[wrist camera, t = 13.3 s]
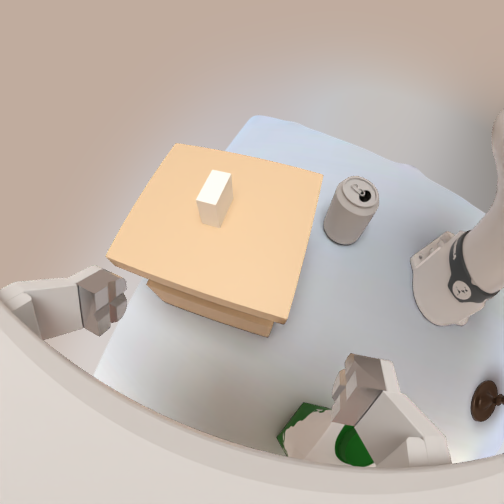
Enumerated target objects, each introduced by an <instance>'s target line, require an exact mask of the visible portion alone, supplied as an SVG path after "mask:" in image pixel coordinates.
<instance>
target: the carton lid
mask: <svg viewBox="0 0 504 504" xmlns="http://www.w3.org/2000/svg"><path fill="white" fill-rule="evenodd" d="M322 179H323V175H322V174H319V173H315V172H312V171H308V170H304V169H300V168H297V167H293V166H289V165H285V164H281V163H277V162H273V161H268V160H264V159H260V158H255V157H250V156H246V155H241V154H236V153H231V152H226V151H220V150H215V149H209V148H203V147H197V146H191V145H185V144H177V143H176V144H175V145H174V146H173V148H172V149H171V151H170V152H169V153H168V155H167V156H166V158H165V159H164V160H163V162H162V163H161V165H160V166H159V168H158V169H157V171H156V172H155V173H154V175H153V176H152V178H151V180H150V181H149V182H148V184H147V186H146V187H145V189H144V190H143V192H142V193H141V195H140V197H139V198H138V200H137V201H136V203H135V205H134V206H133V208H132V210H131V211H130V213H129V215H128V216H127V218H126V220H125V221H124V223H123V225H122V227H121V228H120V230H119V232H118V234H117V236H116V237H115V239H114V241H113V243H112V245H111V247H110V249H109V250H108V252H107V254H106V257H107V258H108V259H109V260H110V261H111V262H112V263H113V264H114V265H115V266H117V267H119V268H122V269H124V270H127V271H129V272H132V273H134V274H137V275H139V276H142V277H144V278H147V279H150V280H152V281H155V282H157V283H160V284H163V285H165V286H168V287H171V288H174V289H176V290H179V291H182V292H185V293H187V294H190V295H193V296H196V297H199V298H202V299H205V300H208V301H211V302H214V303H216V304H219V305H222V306H226V307H229V308H232V309H235V310H238V311H241V312H244V313H247V314H251V315H254V316H257V317H260V318H264V319H267V320H270V321H274V322H277V323H281V324H285V322H286V320H287V318H288V315H289V311H290V308H291V304H292V301H293V297H294V294H295V290H296V286H297V283H298V279H299V275H300V271H301V268H302V264H303V260H304V256H305V252H306V248H307V244H308V240H309V236H310V232H311V228H312V224H313V219H314V215H315V211H316V206H317V202H318V197H319V193H320V188H321V184H322Z"/></svg>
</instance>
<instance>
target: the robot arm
mask: <svg viewBox="0 0 504 504" xmlns="http://www.w3.org/2000/svg"><path fill="white" fill-rule="evenodd" d="M492 150H493V154H494V158H495V161H496V167H497V180H498V181H497V191H496V196H495V199H494V201H493V204H492V206H491V208H490V209H489V211H488V212H487V213H486V215H485V216H484V217H483V218H482V219H481V221H480V222H479V223H478V224H477V225H476V226H475V227H474V228H473V229H472V230H469V231H467V232H464V231H459V232H458V233H457V234H456V235H454V234H453V233H451V232H448V231H447V232H445V233H444V234H442V235H441V236H440V237H438V238H437V239H436V240H434V241H433V242H431V243H430V244H429V245H427V246H426V247H425V248H423V249H422V250H420V251H419V252H417V253H416V254H415V255H413V256H412V257H411V259H410V261H411V266H412V269H413V292H414V297H415V300H416V303H417V305H418V307H419V309H420V311H421V312H422V314H423V315H424V316H425V317H426V318H427V319H428V320H429V321H430V322H432V323H434V324H436V325H439V326H447V325H451V324H456V325H460V326H462V325H464V324H466V323H467V321H468V318H469V316H471V315H473V314H474V313H476V312H477V311H479V310H481V309H482V308H483V307H484V304H485V302H486V301H487V300H489V299H491V298H492V297H494V296H495V295H496V294H497V293H498V292H499V291H500V289H502V288H504V108H503V109H502V110H501V112H500V113H499V114H498V116H497V118H496V119H495V122H494V125H493V129H492ZM419 258H420V259H419ZM126 287H127V286H126V281H125V279H124V278H122V277H120V276H118V275H116V274H114V273H112V272H109V271H107V270H105V269H103V268H101V267H98V266H95V265H92V266H90V267H88V268H86V269H84V270H82V271H80V272H78V273H76V274H75V275H73V276H71V277H69V278H67V279H65V278H55V279H43V280H34V281H33V280H32V281H21V282H14V283H12V284H10V285H8V286H6V287H4V288H2V289H0V504H504V453H503V454H499V455H495V456H491V457H487V458H482V459H478V460H473V461H467V462H461V463H454V464H452V462H451V457H450V453H449V449H448V445H447V441H446V437H445V435H444V434H443V433H442V432H441V431H440V430H439V429H438V428H437V427H436V426H435V425H434V424H433V423H432V422H431V421H430V420H429V419H428V418H427V417H426V416H425V415H424V414H423V412H422V411H421V410H420V409H419V408H418V407H417V406H416V405H415V404H414V403H413V402H412V401H411V400H410V399H409V398H408V397H407V396H406V395H405V394H402V393H401V392H400V388H399V384H398V380H397V376H396V373H395V369H394V366H393V363H392V362H391V361H390V360H384V359H376V358H371V357H367V356H362V355H357V354H353V353H351V354H350V355H349V356H348V357H347V359H346V361H345V369H343V370H341V371H339V373H338V375H337V377H336V379H335V382H334V385H333V389H332V398H333V399H334V401H335V403H334V404H333V406H332V415H331V422H335V423H340V424H345V425H351V426H355V427H354V428H355V430H356V431H357V433H358V435H359V437H360V438H361V440H362V442H363V444H364V445H365V447H366V449H367V451H368V452H369V454H370V456H371V458H372V459H373V461H374V463H375V465H376V467H358V466H346V465H336V464H328V463H321V462H314V461H308V460H302V459H297V458H292V457H287V456H282V455H278V454H274V453H269V452H265V451H261V450H258V449H254V448H250V447H247V446H243V445H240V444H237V443H233V442H230V441H227V440H224V439H221V438H218V437H215V436H213V435H210V434H207V433H204V432H202V431H199V430H197V429H194V428H191V427H189V426H187V425H184V424H182V423H179V422H177V421H175V420H173V419H170V418H168V417H166V416H164V415H162V414H160V413H157V412H155V411H153V410H151V409H149V408H147V407H145V406H143V405H141V404H139V403H138V402H136V401H134V400H132V399H130V398H128V397H126V396H125V395H123V394H121V393H119V392H118V391H116V390H114V389H113V388H111V387H109V386H108V385H106V384H104V383H103V382H101V381H99V380H98V379H96V378H95V377H93V376H92V375H90V374H89V373H87V372H86V371H84V370H83V369H81V368H80V367H78V366H77V365H75V364H74V363H73V362H71V361H70V360H68V359H67V358H66V357H64V356H63V355H62V354H60V353H59V352H58V351H56V350H55V349H54V348H53V347H51V346H50V345H49V344H48V343H46V342H45V341H44V340H45V339H49V338H53V337H56V336H59V335H63V334H66V333H70V332H73V331H76V330H80V329H82V328H85V329H87V330H89V331H91V332H93V333H94V334H96V335H98V336H101V335H102V334H103V333H104V332H106V331H107V330H108V329H109V328H110V326H111V323H113V322H118V321H119V320H120V319H121V318H122V317H123V315H124V313H125V311H126V307H127V299H126V297H125V295H124V292H125V291H126V289H127V288H126Z"/></svg>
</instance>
